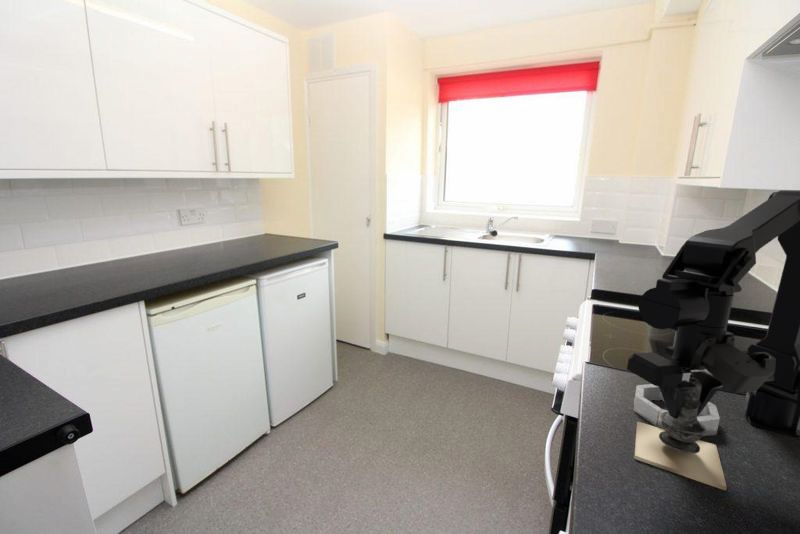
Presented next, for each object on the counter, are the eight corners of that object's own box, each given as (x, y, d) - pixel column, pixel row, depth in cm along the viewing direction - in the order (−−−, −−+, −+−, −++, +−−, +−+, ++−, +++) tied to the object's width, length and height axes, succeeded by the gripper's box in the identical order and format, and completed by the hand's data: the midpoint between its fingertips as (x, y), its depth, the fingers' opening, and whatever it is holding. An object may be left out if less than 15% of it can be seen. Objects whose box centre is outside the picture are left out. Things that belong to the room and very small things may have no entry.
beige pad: (715, 448, 62) (715, 445, 62) (726, 490, 53) (726, 487, 53) (636, 424, 68) (637, 421, 68) (634, 458, 59) (634, 455, 58)
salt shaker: (656, 426, 64) (668, 360, 61) (700, 439, 61) (714, 370, 58) (656, 445, 59) (669, 374, 57) (704, 460, 56) (719, 386, 53)
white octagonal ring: (710, 411, 73) (713, 397, 72) (719, 445, 62) (723, 429, 62) (635, 391, 79) (637, 378, 79) (632, 419, 69) (635, 404, 69)
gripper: (703, 346, 46) (681, 458, 49) (818, 338, 50) (791, 442, 53) (631, 316, 57) (617, 410, 60) (730, 312, 61) (712, 400, 64)
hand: (683, 416), depth 59 cm, fingers closed on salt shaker, 3 cm apart
